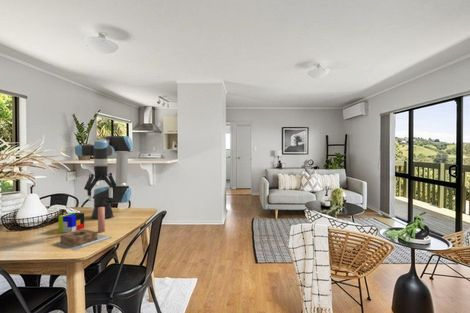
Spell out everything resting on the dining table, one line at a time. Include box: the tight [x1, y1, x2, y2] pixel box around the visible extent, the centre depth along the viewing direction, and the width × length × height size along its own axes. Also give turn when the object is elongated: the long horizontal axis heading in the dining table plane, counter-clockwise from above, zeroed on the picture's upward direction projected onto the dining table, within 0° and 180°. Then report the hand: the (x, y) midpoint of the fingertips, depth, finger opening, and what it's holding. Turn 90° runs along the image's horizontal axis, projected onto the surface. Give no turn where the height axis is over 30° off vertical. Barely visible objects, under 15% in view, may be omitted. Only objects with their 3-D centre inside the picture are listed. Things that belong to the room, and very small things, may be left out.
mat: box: [53, 233, 113, 251], centre depth 144 cm, size 22×20×1 cm
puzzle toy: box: [58, 212, 85, 233], centre depth 166 cm, size 10×10×10 cm
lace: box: [81, 236, 110, 246], centre depth 142 cm, size 16×1×1 cm, turn 153°
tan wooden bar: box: [97, 207, 106, 234], centre depth 160 cm, size 4×4×16 cm
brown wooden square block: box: [59, 228, 98, 247], centre depth 142 cm, size 13×13×4 cm
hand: (101, 199), depth 159 cm, fingers open, 13 cm apart
